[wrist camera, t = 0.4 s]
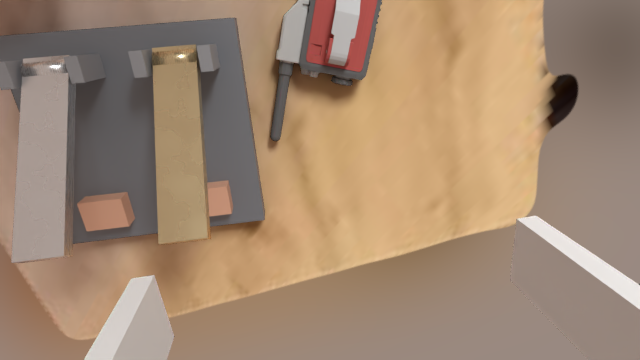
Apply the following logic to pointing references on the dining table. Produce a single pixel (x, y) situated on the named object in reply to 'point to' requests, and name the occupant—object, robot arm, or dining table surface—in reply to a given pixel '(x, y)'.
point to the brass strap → (179, 146)
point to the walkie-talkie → (324, 44)
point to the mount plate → (145, 121)
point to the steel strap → (45, 162)
